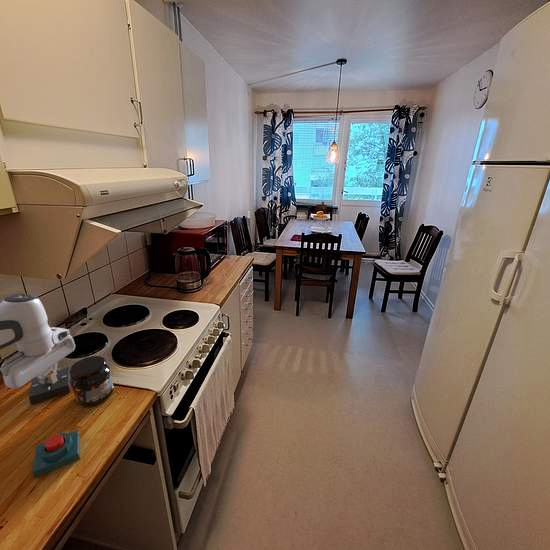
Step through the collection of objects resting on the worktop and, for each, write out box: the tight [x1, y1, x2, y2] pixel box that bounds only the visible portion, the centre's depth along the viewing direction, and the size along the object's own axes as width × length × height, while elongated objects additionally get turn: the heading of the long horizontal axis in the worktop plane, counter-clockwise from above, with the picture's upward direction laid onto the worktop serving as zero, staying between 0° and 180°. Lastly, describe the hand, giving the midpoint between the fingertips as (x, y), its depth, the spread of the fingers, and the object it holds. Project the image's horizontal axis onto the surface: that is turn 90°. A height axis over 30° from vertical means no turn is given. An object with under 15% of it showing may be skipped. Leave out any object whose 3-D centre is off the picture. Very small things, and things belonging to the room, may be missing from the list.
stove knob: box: [41, 369, 58, 384], centre depth 92 cm, size 5×2×4 cm, turn 76°
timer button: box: [45, 433, 64, 452], centre depth 71 cm, size 4×4×2 cm
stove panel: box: [28, 366, 72, 406], centre depth 93 cm, size 10×10×3 cm
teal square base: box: [32, 429, 81, 479], centre depth 72 cm, size 9×8×4 cm
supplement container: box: [69, 355, 115, 408], centre depth 89 cm, size 10×10×12 cm
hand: (48, 378), depth 93 cm, fingers closed on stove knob, 2 cm apart
